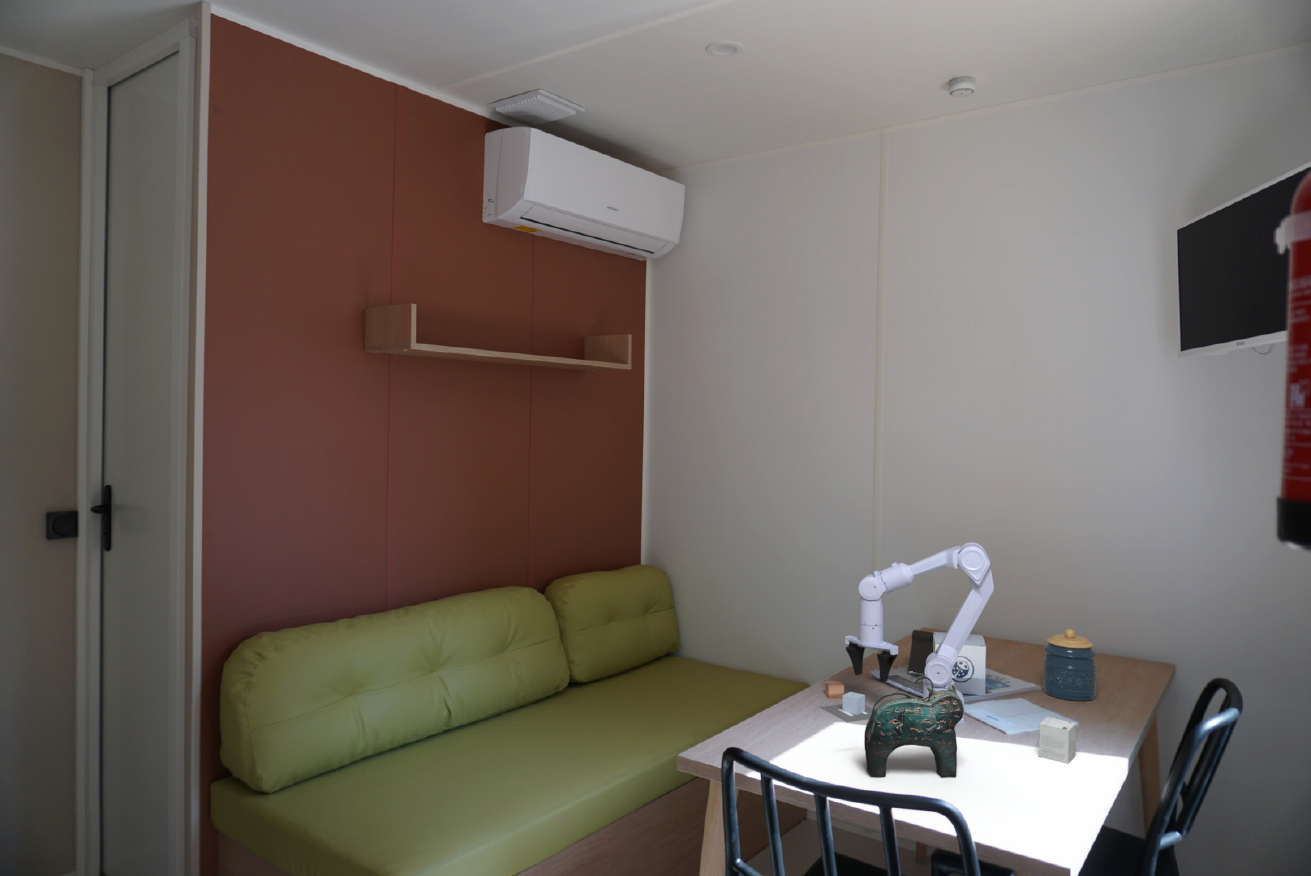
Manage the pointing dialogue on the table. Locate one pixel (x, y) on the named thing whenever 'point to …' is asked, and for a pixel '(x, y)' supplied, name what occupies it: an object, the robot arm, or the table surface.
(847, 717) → the board
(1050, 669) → the canister
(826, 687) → the terracotta block
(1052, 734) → the skincare box
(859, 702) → the pale blue cube
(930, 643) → the phone stand
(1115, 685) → the table surface
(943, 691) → the green animal figurine
